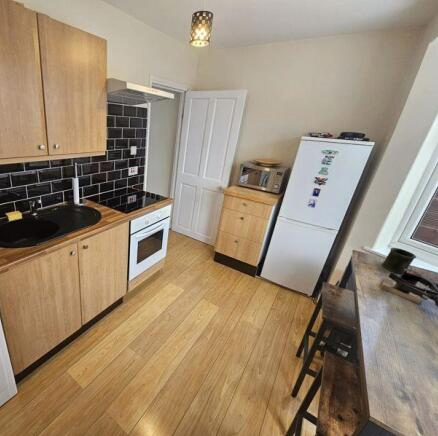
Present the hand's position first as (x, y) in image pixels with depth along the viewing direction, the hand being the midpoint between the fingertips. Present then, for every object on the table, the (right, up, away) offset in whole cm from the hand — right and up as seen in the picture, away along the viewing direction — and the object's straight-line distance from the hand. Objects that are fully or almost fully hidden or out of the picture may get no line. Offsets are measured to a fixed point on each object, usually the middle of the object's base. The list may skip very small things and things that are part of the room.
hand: (401, 275), depth 119 cm
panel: (-1, -10, +1) cm, 10 cm away
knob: (0, -7, -1) cm, 7 cm away
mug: (+20, -1, +23) cm, 31 cm away
